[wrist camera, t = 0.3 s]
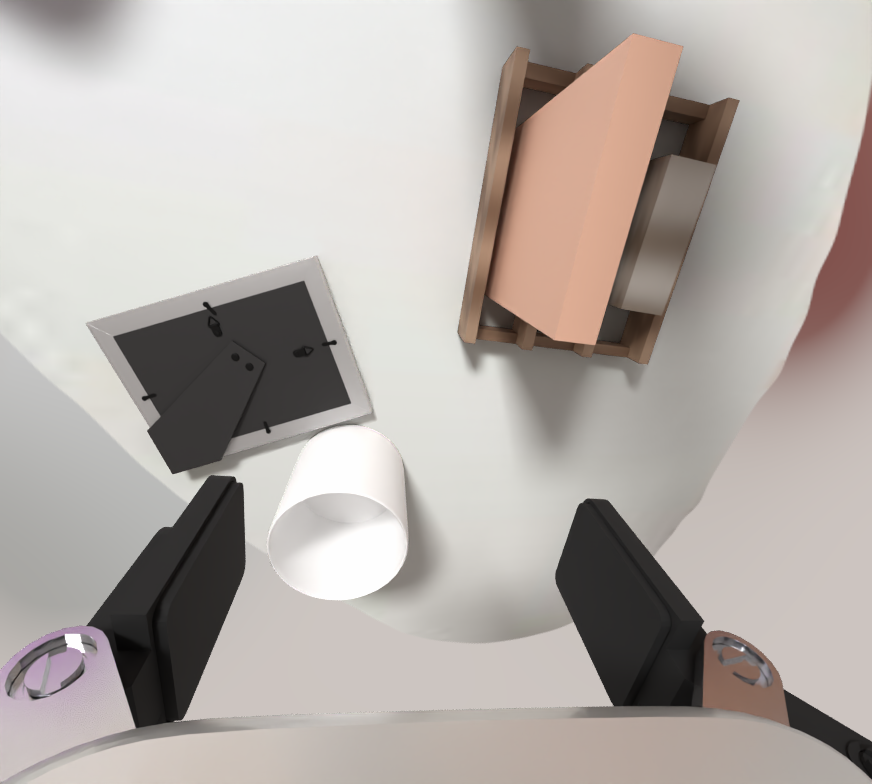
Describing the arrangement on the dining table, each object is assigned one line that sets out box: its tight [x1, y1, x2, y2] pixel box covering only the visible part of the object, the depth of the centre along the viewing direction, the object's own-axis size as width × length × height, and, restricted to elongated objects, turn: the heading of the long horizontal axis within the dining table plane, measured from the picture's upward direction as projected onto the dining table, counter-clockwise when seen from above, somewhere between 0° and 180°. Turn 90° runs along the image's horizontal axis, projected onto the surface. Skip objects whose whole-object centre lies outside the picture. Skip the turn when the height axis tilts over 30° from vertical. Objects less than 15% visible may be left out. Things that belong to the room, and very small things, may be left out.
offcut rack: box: [458, 47, 740, 364], centre depth 36 cm, size 22×18×4 cm
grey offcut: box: [608, 154, 717, 316], centre depth 36 cm, size 12×4×6 cm, turn 170°
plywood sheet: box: [484, 33, 683, 345], centre depth 29 cm, size 14×2×18 cm, turn 171°
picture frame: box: [86, 256, 372, 474], centre depth 39 cm, size 16×3×21 cm
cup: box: [267, 425, 409, 600], centre depth 39 cm, size 12×12×12 cm
